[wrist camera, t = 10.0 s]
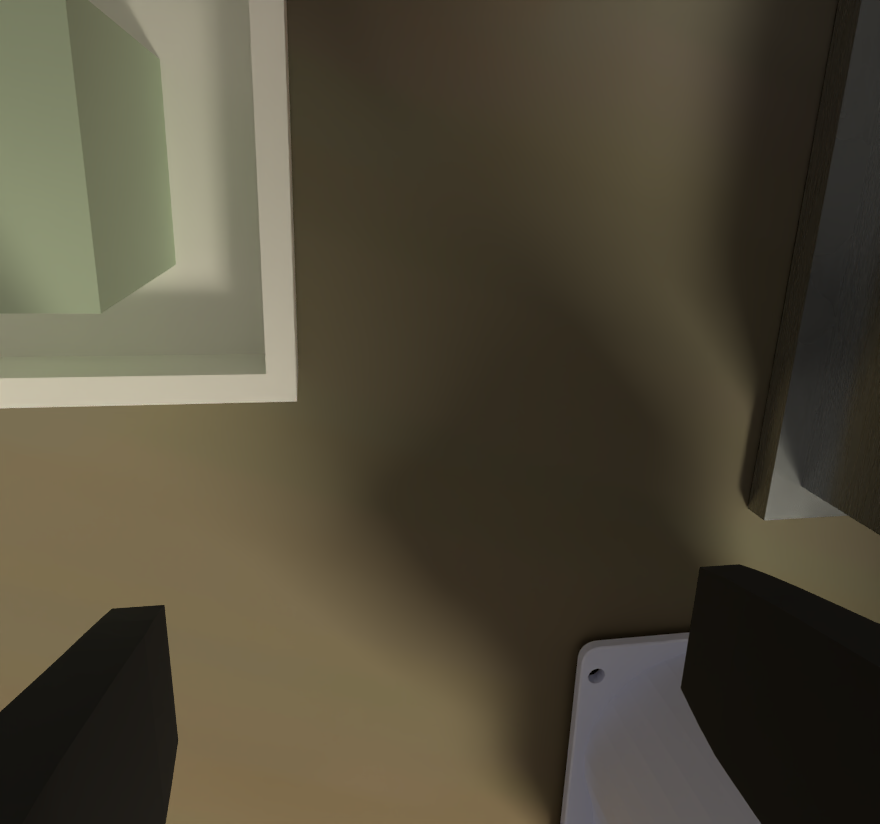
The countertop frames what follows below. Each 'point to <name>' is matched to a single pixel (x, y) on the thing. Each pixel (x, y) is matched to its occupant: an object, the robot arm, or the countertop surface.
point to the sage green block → (79, 161)
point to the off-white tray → (192, 233)
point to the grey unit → (832, 305)
